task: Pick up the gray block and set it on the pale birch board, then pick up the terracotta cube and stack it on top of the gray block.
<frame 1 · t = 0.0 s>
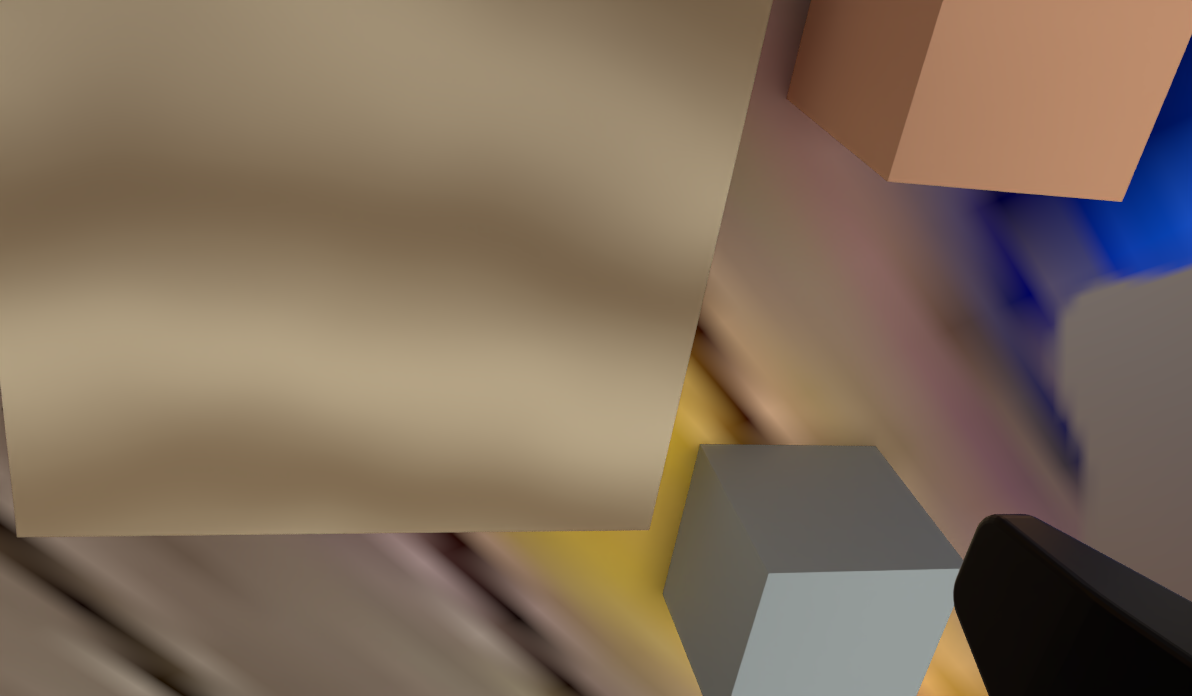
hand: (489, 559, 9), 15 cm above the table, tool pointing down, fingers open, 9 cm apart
birch base: (374, 223, 23), on the table
gray block: (766, 519, 29), on the table
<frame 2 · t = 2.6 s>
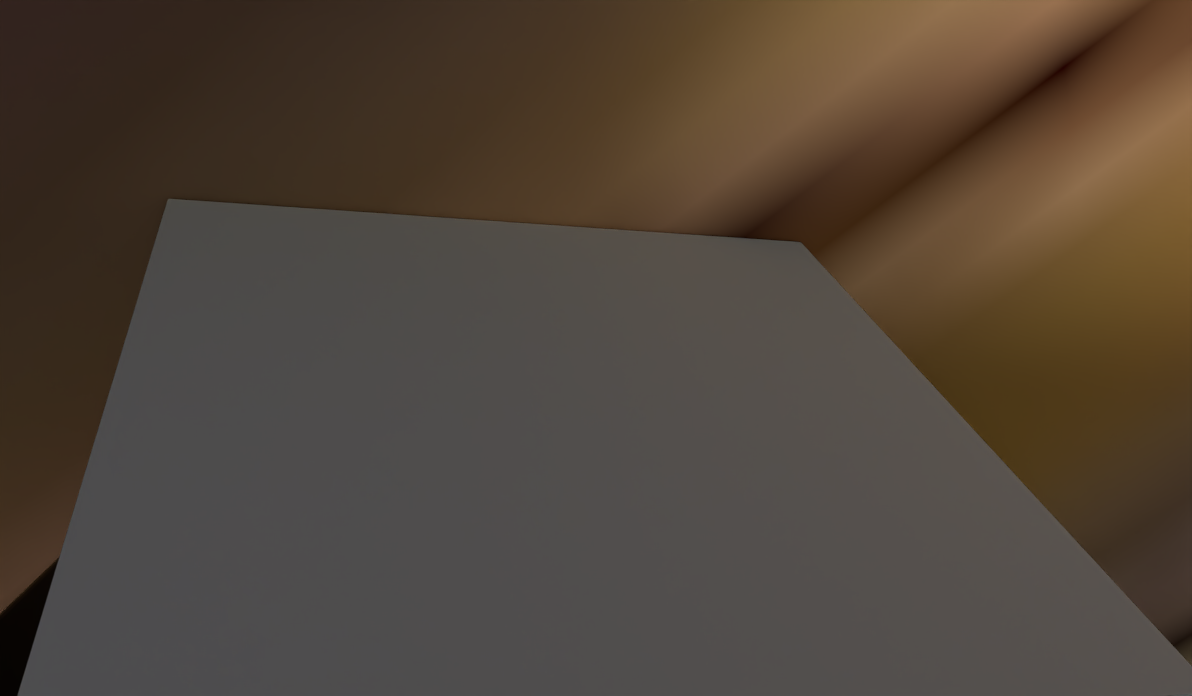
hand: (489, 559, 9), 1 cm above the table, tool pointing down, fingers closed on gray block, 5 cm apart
gray block: (474, 481, 10), on the table, touching gripper
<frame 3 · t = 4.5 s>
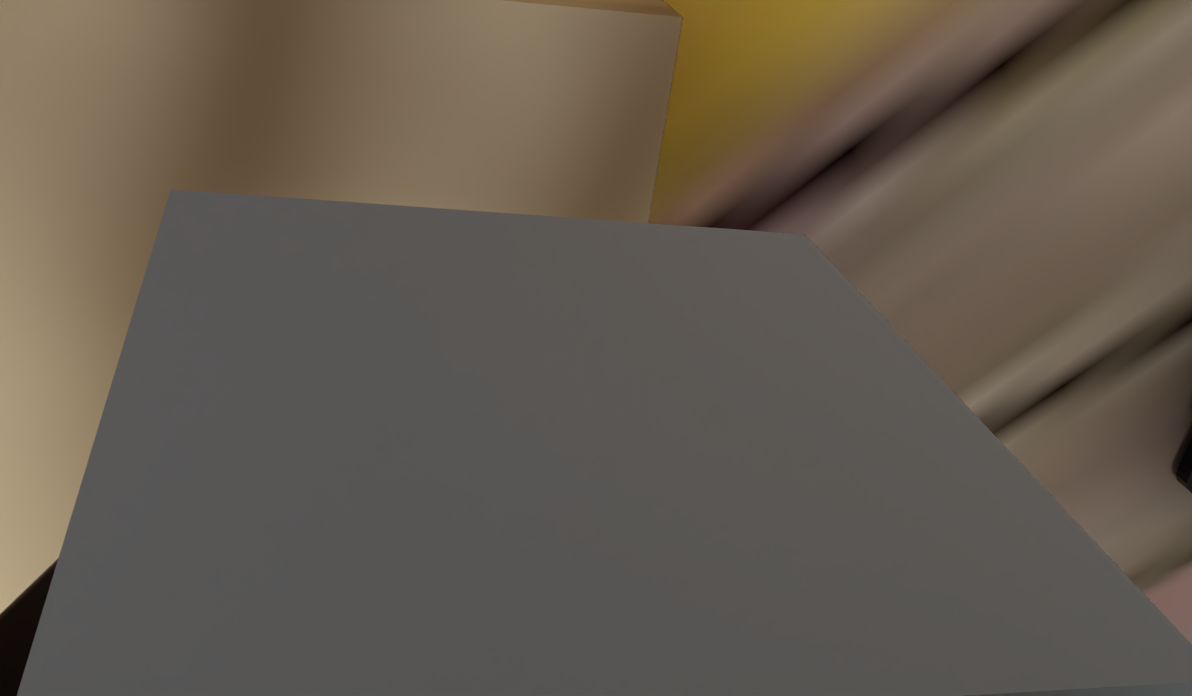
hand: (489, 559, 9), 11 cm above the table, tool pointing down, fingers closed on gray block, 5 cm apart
birch base: (227, 356, 20), on the table
gray block: (476, 474, 10), point 10 cm above the table, touching gripper
when the fingers open (4 cm above the table, at t = 6.5 s): gray block drops 1 cm, resting on birch base.
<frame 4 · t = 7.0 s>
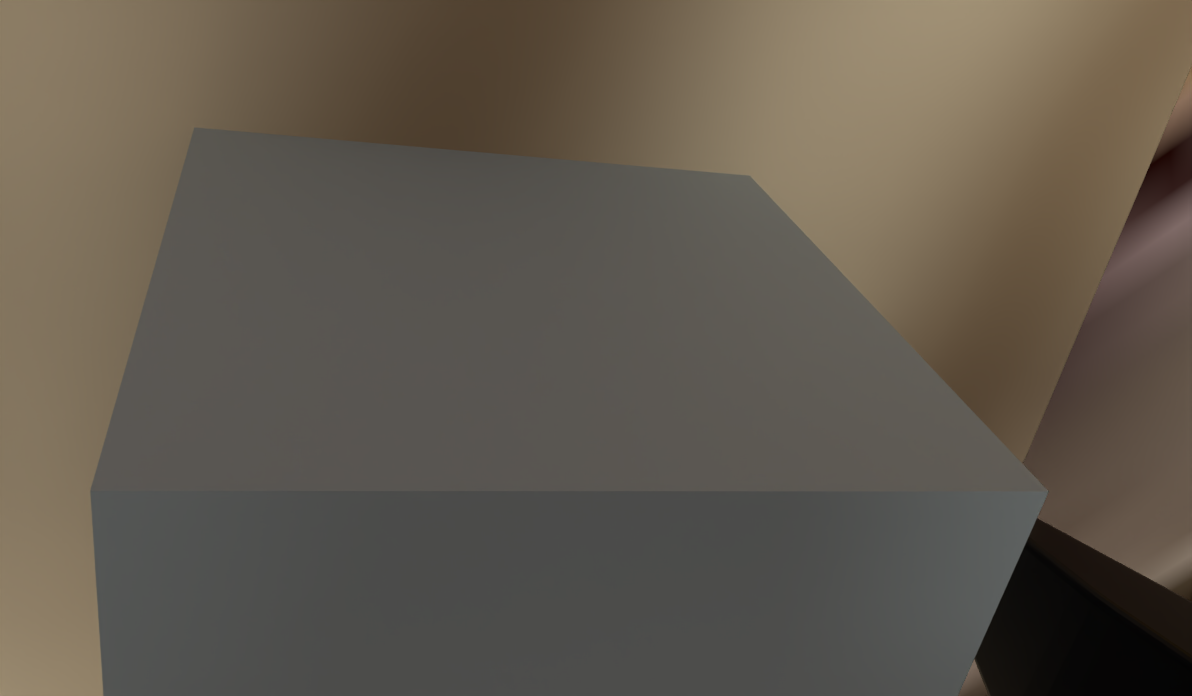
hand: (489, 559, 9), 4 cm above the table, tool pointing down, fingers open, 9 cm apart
birch base: (437, 325, 12), on the table
gray block: (461, 391, 11), point 1 cm above the table, touching birch base
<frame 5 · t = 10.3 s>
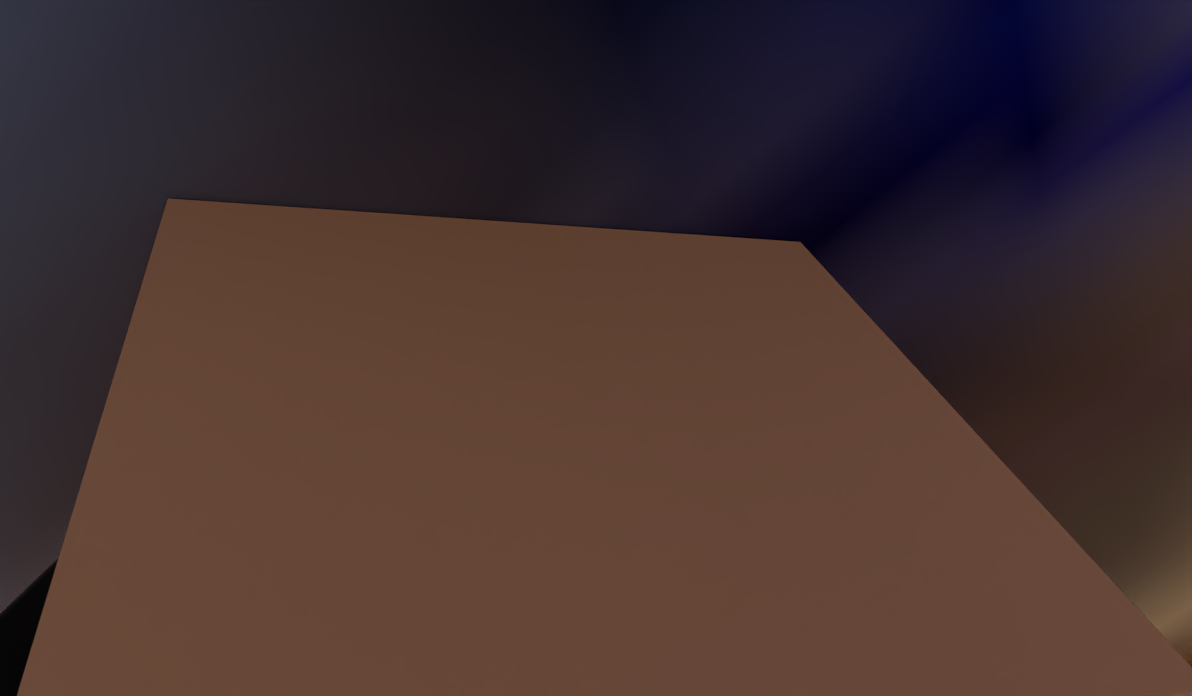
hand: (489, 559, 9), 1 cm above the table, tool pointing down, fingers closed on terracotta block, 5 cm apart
terracotta block: (473, 481, 10), on the table, touching gripper
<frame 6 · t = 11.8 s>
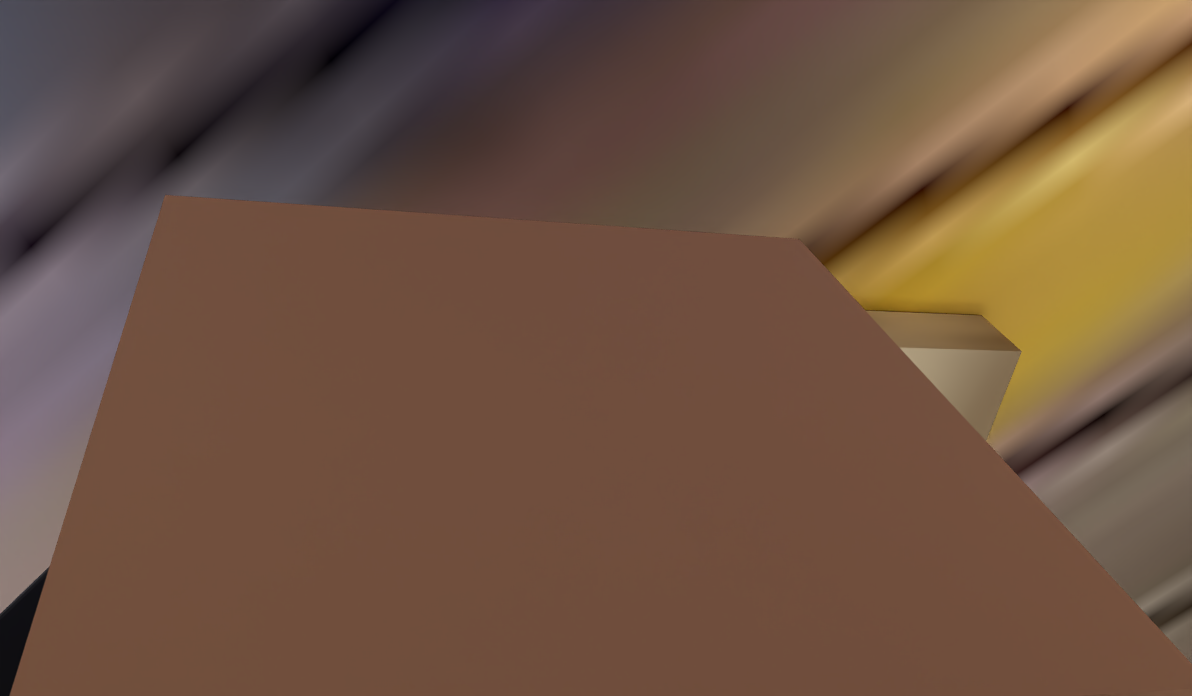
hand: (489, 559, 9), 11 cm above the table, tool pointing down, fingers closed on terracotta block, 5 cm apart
terracotta block: (472, 478, 10), point 10 cm above the table, touching gripper
birch base: (604, 583, 24), on the table
when the fingers open (8 cm above the table, at t = 13.4 s): terracotta block stays where it is, resting on gray block.
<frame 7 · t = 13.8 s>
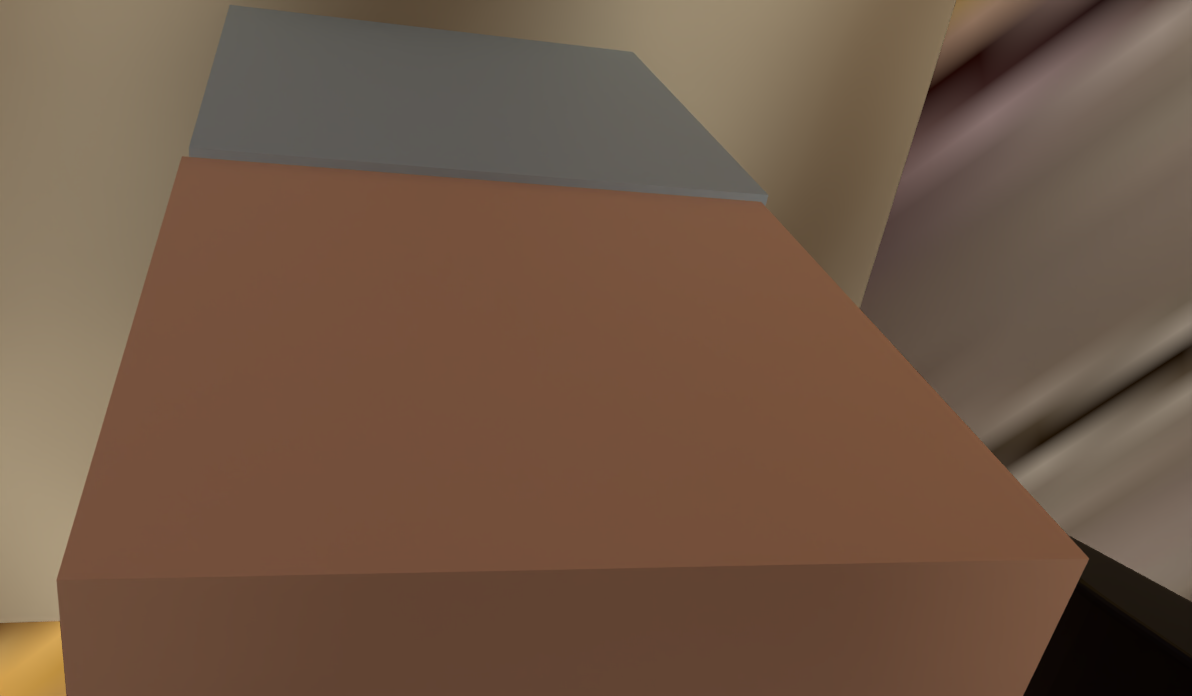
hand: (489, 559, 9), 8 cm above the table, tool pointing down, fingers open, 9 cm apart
terracotta block: (461, 424, 10), point 6 cm above the table, touching gray block
birch base: (408, 179, 16), on the table
gray block: (423, 215, 15), point 1 cm above the table, touching birch base, terracotta block
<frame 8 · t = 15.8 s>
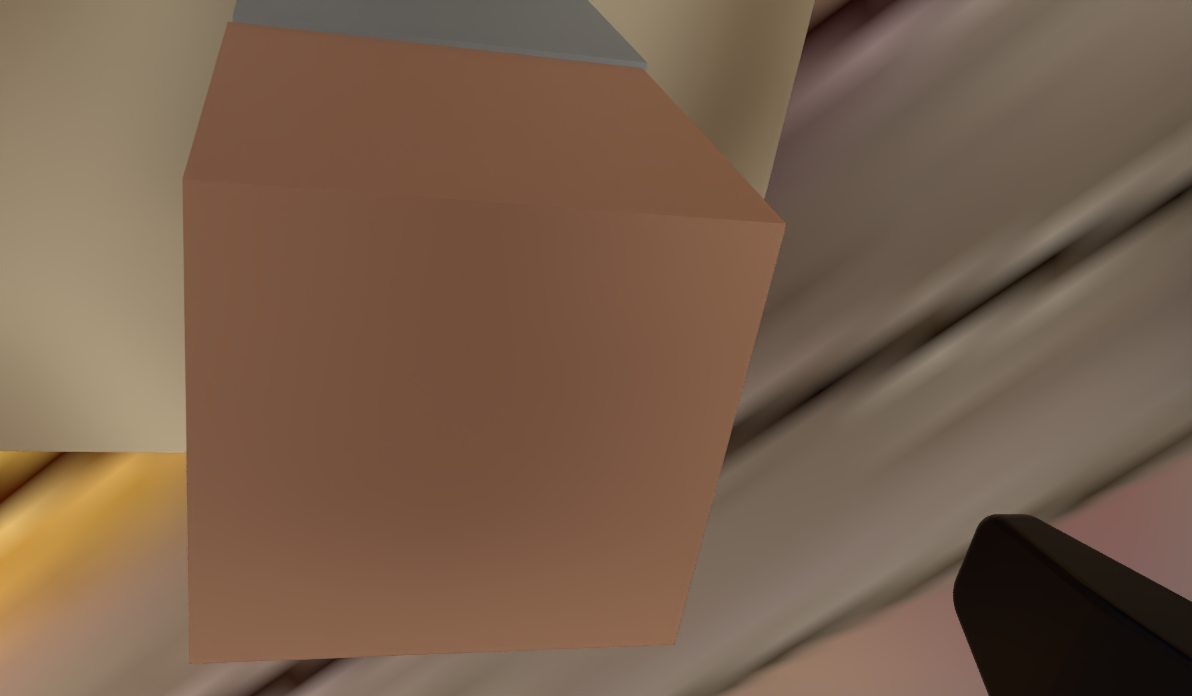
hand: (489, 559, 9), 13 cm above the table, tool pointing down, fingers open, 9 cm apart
terracotta block: (426, 235, 14), point 6 cm above the table, touching gray block
birch base: (394, 90, 20), on the table
gray block: (404, 113, 18), point 1 cm above the table, touching birch base, terracotta block
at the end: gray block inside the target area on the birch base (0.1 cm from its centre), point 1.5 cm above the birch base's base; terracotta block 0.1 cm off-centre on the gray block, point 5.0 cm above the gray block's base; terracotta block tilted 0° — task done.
